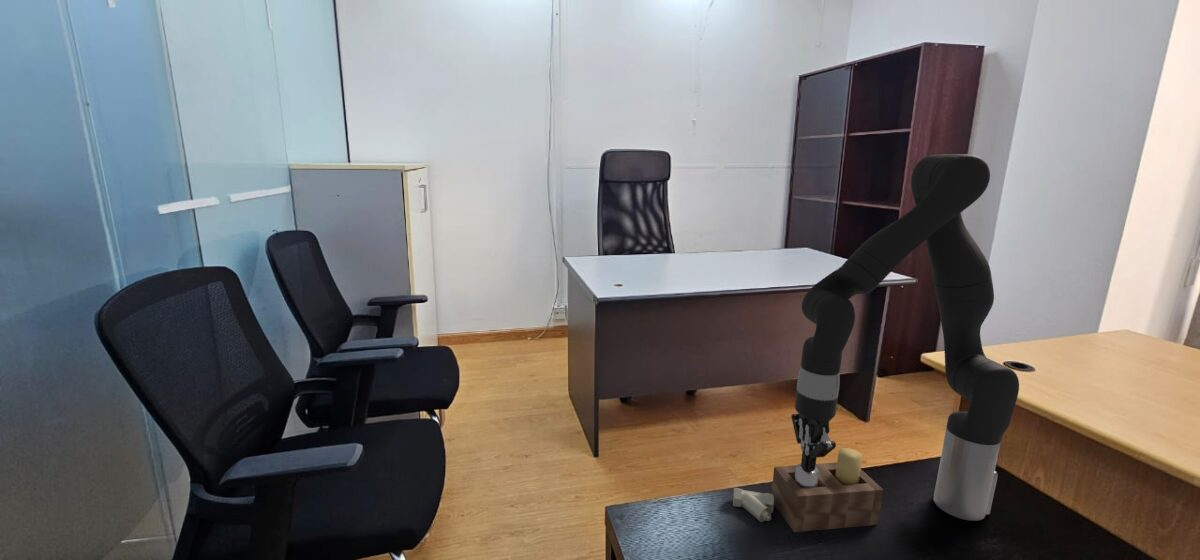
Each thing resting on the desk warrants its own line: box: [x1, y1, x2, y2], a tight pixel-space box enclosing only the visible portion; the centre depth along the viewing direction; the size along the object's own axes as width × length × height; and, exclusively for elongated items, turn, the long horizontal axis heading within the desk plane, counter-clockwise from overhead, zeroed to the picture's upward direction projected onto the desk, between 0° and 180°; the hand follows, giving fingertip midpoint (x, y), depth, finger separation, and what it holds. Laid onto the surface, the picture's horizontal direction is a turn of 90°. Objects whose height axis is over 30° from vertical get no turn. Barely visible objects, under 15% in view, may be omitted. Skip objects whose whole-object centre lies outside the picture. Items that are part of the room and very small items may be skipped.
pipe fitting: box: [732, 487, 775, 523], centre depth 108 cm, size 8×4×7 cm
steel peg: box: [795, 462, 819, 488], centre depth 106 cm, size 4×4×8 cm
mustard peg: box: [835, 447, 863, 485], centre depth 107 cm, size 4×4×8 cm
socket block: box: [770, 461, 884, 533], centre depth 107 cm, size 18×10×8 cm, turn 98°
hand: (807, 469), depth 105 cm, fingers closed
